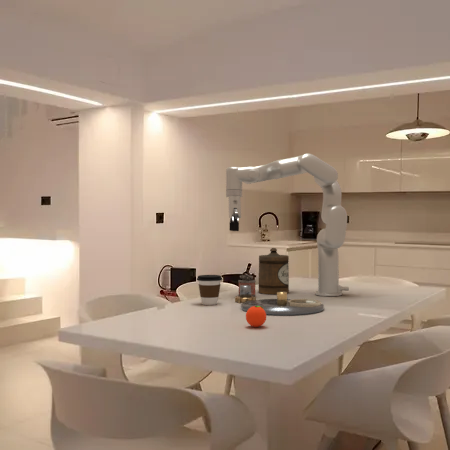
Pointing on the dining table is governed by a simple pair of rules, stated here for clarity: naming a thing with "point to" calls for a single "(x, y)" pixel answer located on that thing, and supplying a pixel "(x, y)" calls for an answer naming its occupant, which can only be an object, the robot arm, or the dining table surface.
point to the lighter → (247, 283)
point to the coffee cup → (209, 288)
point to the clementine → (256, 316)
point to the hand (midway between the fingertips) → (234, 230)
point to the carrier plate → (285, 306)
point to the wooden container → (273, 273)
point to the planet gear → (244, 294)
